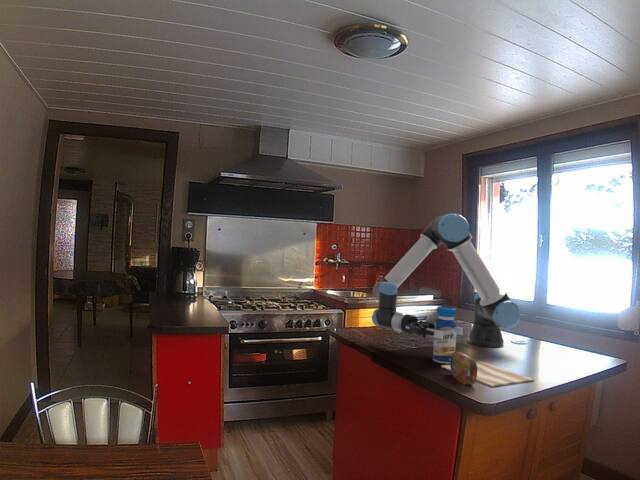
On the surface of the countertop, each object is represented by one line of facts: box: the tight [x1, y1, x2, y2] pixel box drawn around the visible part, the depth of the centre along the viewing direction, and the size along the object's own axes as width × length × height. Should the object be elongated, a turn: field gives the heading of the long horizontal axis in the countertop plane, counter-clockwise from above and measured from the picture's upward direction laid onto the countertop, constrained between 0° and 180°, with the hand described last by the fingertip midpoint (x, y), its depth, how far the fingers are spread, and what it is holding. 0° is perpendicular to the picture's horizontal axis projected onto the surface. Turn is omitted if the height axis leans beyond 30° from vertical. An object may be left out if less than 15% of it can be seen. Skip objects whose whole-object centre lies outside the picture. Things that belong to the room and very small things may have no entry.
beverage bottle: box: [432, 306, 458, 365], centre depth 159 cm, size 8×8×20 cm
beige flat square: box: [440, 360, 535, 388], centre depth 145 cm, size 20×22×1 cm
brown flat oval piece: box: [449, 351, 477, 386], centre depth 136 cm, size 15×3×8 cm, turn 5°
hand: (452, 333), depth 157 cm, fingers open, 13 cm apart
